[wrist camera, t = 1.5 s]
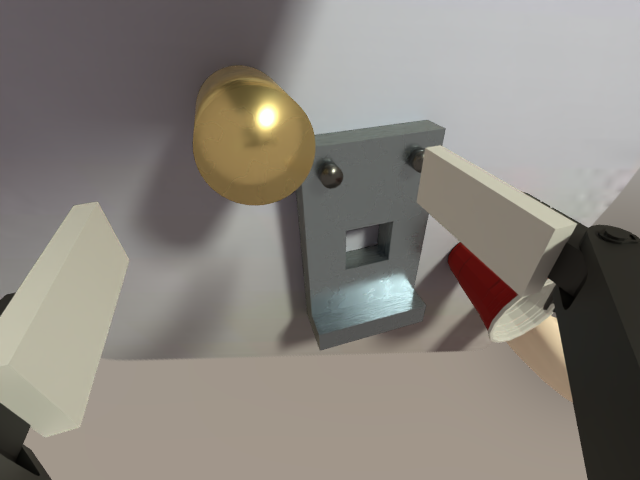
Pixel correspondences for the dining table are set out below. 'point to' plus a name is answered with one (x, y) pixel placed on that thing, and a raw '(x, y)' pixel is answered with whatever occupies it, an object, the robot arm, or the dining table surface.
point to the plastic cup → (498, 297)
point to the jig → (357, 212)
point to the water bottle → (545, 355)
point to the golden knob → (250, 137)
